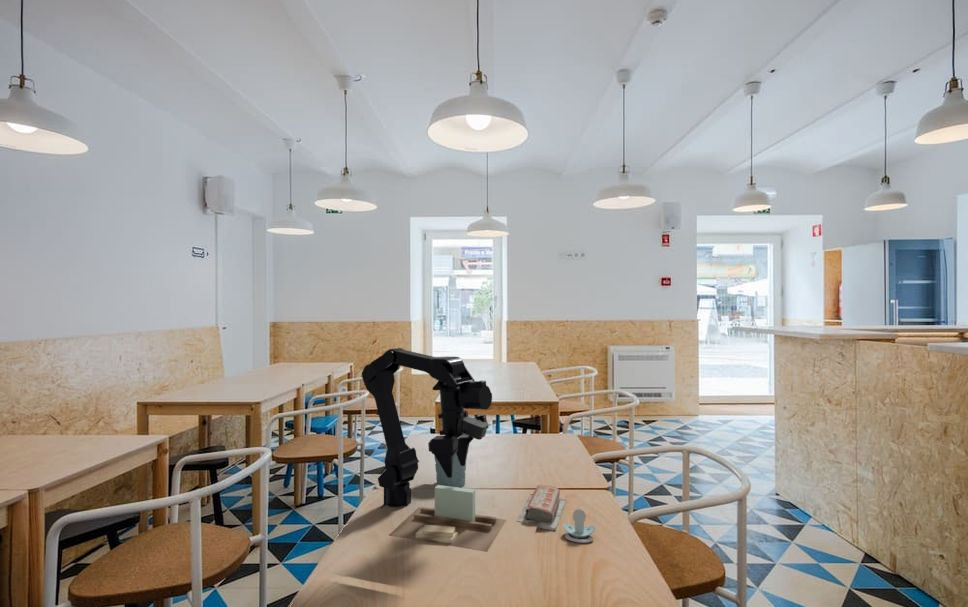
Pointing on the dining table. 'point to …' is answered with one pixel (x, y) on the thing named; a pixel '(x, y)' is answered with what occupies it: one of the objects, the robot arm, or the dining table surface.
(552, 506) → the packaged product
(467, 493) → the green board
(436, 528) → the offcut upper
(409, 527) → the rack
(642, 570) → the dining table surface
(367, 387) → the robot arm
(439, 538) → the offcut lower
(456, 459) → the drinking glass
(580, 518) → the pacifier
